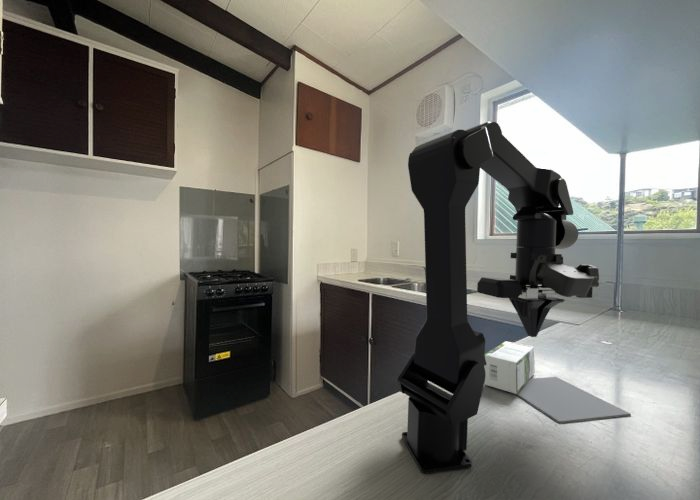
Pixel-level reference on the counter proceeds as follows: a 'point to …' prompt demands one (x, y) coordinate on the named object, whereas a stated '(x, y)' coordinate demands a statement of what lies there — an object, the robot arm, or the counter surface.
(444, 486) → the counter surface
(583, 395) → the mat
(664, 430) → the counter surface
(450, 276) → the robot arm
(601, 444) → the counter surface
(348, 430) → the counter surface
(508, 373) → the syrup box
